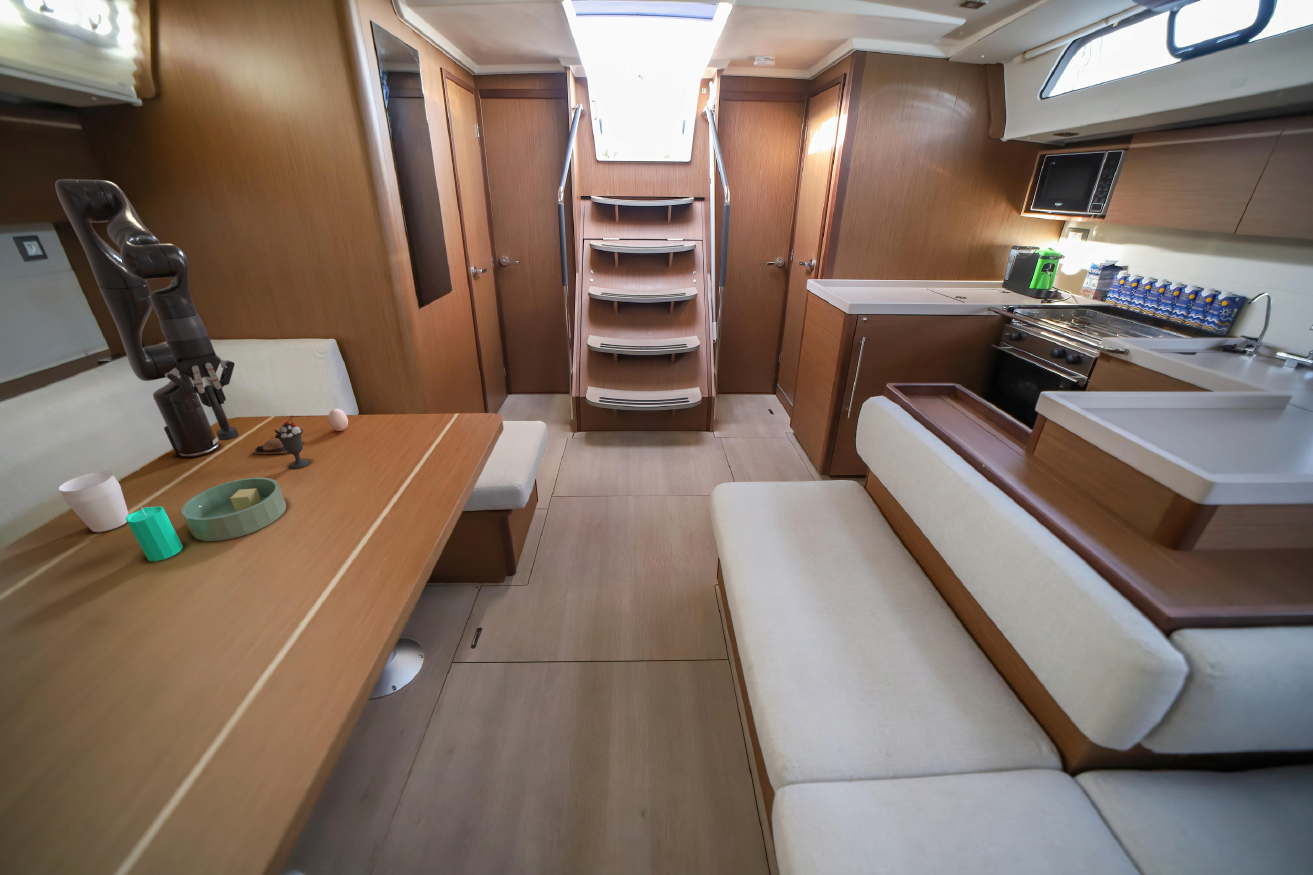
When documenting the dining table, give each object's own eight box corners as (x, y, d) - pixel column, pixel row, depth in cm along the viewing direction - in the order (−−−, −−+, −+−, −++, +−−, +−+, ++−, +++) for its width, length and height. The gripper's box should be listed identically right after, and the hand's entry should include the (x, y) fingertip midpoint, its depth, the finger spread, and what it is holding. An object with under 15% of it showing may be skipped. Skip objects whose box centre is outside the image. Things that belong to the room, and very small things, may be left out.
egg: (348, 433, 166) (341, 411, 163) (329, 435, 165) (322, 413, 161) (352, 426, 171) (346, 405, 167) (334, 428, 170) (327, 406, 166)
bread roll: (304, 442, 160) (301, 432, 158) (287, 454, 152) (283, 444, 151) (270, 442, 160) (266, 432, 158) (252, 454, 152) (247, 444, 150)
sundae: (318, 459, 150) (303, 413, 143) (302, 470, 144) (285, 423, 137) (298, 458, 150) (282, 412, 144) (280, 469, 144) (263, 422, 138)
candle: (189, 547, 113) (167, 502, 107) (158, 563, 107) (133, 517, 102) (171, 541, 114) (149, 497, 109) (140, 557, 109) (114, 512, 104)
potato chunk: (235, 511, 124) (229, 498, 122) (244, 502, 128) (238, 489, 126) (253, 510, 125) (247, 496, 123) (261, 501, 128) (256, 488, 126)
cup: (144, 518, 122) (121, 476, 117) (95, 539, 115) (68, 495, 109) (125, 509, 125) (102, 468, 120) (76, 529, 118) (50, 486, 113)
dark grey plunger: (215, 441, 126) (193, 388, 120) (225, 434, 129) (203, 383, 123) (233, 439, 126) (211, 387, 120) (242, 433, 130) (221, 382, 124)
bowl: (171, 545, 113) (160, 523, 110) (221, 500, 130) (212, 480, 127) (262, 536, 116) (253, 515, 113) (299, 493, 133) (292, 474, 130)
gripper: (216, 327, 123) (242, 393, 131) (142, 339, 113) (175, 410, 121) (228, 331, 119) (253, 399, 127) (152, 344, 109) (185, 417, 117)
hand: (215, 404), depth 124 cm, fingers closed on dark grey plunger, 2 cm apart
